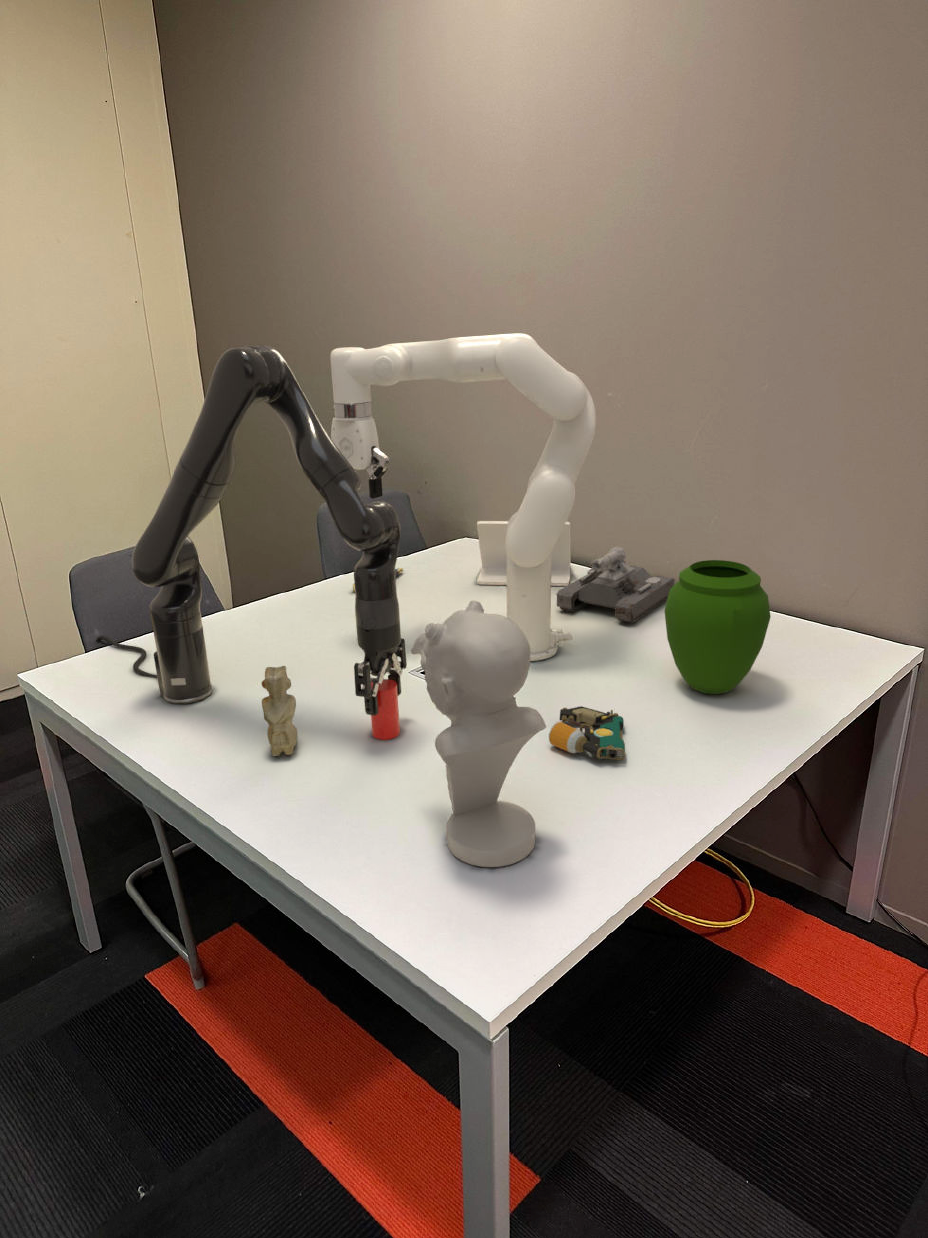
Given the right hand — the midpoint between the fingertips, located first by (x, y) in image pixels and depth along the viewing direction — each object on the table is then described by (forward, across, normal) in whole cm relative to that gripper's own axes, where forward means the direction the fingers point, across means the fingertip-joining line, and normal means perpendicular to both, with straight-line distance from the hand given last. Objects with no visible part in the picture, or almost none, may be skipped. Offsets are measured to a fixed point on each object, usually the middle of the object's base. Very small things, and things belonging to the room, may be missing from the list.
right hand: (359, 494), depth 179 cm
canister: (+35, +29, -27) cm, 53 cm away
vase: (+35, +69, +24) cm, 82 cm away
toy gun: (+35, -32, +37) cm, 60 cm away
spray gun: (+35, +61, -8) cm, 71 cm away
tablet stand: (+35, -2, +64) cm, 73 cm away
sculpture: (+35, +19, -42) cm, 58 cm away
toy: (+35, +31, +56) cm, 73 cm away
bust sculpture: (+35, +60, -42) cm, 82 cm away
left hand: (+30, +29, -27) cm, 50 cm away
